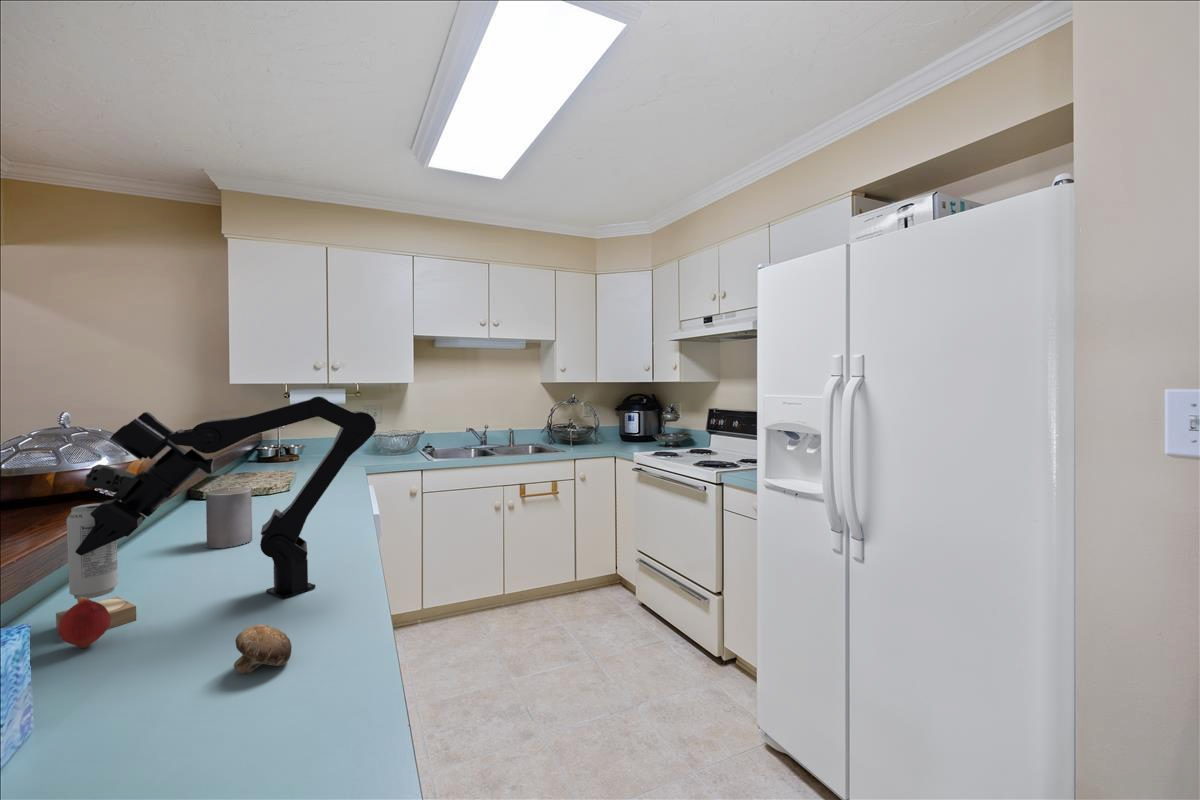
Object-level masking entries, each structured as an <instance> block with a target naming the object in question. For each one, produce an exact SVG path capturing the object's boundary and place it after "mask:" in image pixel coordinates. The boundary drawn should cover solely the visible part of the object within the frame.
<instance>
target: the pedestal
mask: <svg viewBox="0 0 1200 800" xmlns="http://www.w3.org/2000/svg"><path fill="white" fill-rule="evenodd" d="M95 602H97V603H100V604H101V605H103V606H104V607H105V608H106V609H107V611H108V612H109V614H110V618H111V620H110V625H109V627H108V629H107V630H110V629H111V628H116V627H118V626H121V625H125V624H128V623H131V622H135V621H137V605H135V604H133V603H132V602H129V601H127V600H125V599H123V598H120V597H119V596H115V597H111V598H107V599H102V600H96V601H95ZM68 610H69V609H65V610H63V611H58V612H56V613H55V623H56V624H55V627H56V629H57V630H58V625H59V622H60V620H61V618H62V617H63V616H64V614H65V613H66V612H67V611H68Z"/></svg>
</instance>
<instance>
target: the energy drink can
mask: <svg viewBox="0 0 1200 800" xmlns="http://www.w3.org/2000/svg"><path fill="white" fill-rule="evenodd" d="M102 503H103V502H100V503H98V502H97V503H89V504H82V505H78V506H74V507H72V508H71V509H70V510H71V512H70V513H69V515H68V517H66V536H67V537H66V538H67V539H66V541H67V542H66V543H67V561H68V588H69V594H70V595H72V596H73V597H74V599H75V600H77V599H78V598H79V597H86V598H87V599H89V600H91V599H94V598H99V597H102V596H105V595H109V594H110V593H113V592H114V591H115V587H117V586H118V585H119V572H118V571H119V569H118V568H119V567H118V543H117V541H118V540H115V541H113V542H111V543H109V544H106V545H104V546H102V547H100V548H97V549H95V550H93V551H91V552H88V553H86V554H84V555H79V554H77V553H76V552H75V551H76V550H77V548H78V547H79V546H80V544H81V543H82V542H83V541H84V539H85V538H86V537H87V535H88V534H89V533H90V531H91V530H92V528H93V527H94V526H95V521H94V518H93V517H92V516H91V515H90V513H91V512H93V511H94V510H95V509H96V508H97V507H98V506H99V505H101V504H102Z"/></svg>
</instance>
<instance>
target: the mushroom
mask: <svg viewBox="0 0 1200 800" xmlns="http://www.w3.org/2000/svg"><path fill="white" fill-rule="evenodd" d="M235 637H236V638H235V647H236V649H237V651H238V652H239V654H241V655H242V656H240V657H239V658H238V659H236V660H235V662H234V664H233V668H234V670H235V671H236V672H237V673H239V674H243V675H246V674H249V673H252V672H253V671H255V669H257V668H258V667H260V666H261V665H263V664H265V665H268V666H269V665H270V666H277V667H278V666H283V665H286V664H287V663H288V661H290V658H291V654H292V643H291V640H290V638H289V637H288V636H287V634H286V633H285V632H283V631H282V630H280V629H279V628H276V627H274V626H270V625H269V624H268V625H267V624H254V625H250V626H249V627H246V628H245V629H243V630H242V631H241V632H240V633H239V634H237V636H235Z"/></svg>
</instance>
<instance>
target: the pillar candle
mask: <svg viewBox="0 0 1200 800" xmlns="http://www.w3.org/2000/svg"><path fill="white" fill-rule="evenodd" d="M205 499H206V500H205V504H206V505H205V508H206V512H205V513H206V516H205V517H206V547H207V548H208V547H210V548H209V549H212V548H222V549H226V548H225V547H231V548H233V547H232V546H236V547H238V546H237V545H240V546H242V545H241V544H243V545H245V544H244V543H247V544H249V543H248V542H250V541H251V540H252V541H253V515H252V514H253V513H252V512H253V511H252V510H253V509H252V507H253V505H252V504H253V503H252V502H253V500H252V499H253V498H252V488H250V487H243V486H238V487H237V486H236V487H231V485H228V487H224V488H219V489H218V488H217V489H213V490H209V491H207V492H205ZM252 541H251V542H252ZM251 542H250V543H251Z"/></svg>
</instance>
